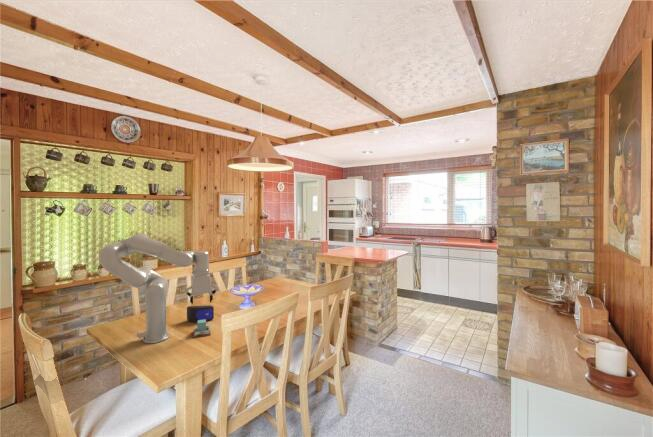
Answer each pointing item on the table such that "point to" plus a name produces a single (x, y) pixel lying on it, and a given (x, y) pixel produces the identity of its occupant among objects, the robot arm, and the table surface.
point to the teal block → (201, 325)
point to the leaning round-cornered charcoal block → (200, 313)
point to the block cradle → (202, 333)
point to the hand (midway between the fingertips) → (201, 302)
